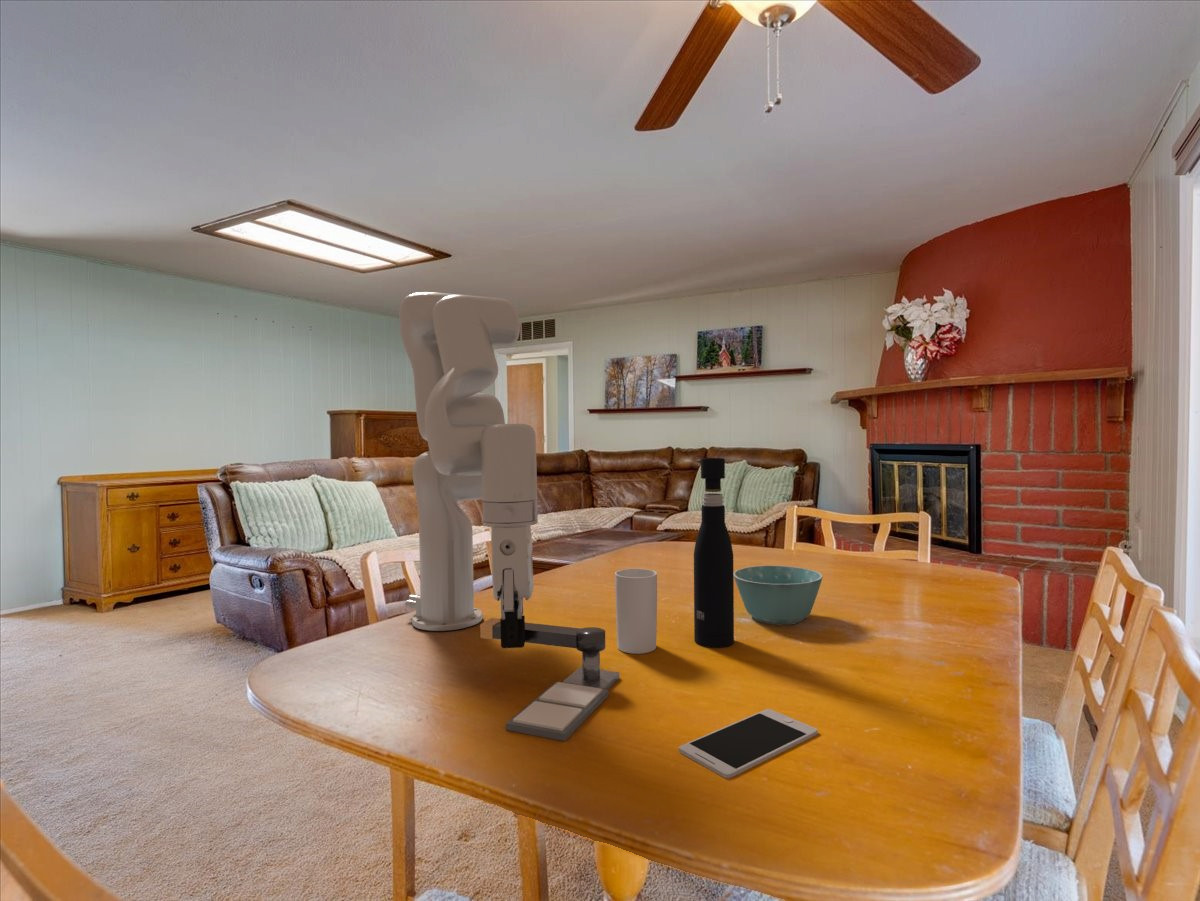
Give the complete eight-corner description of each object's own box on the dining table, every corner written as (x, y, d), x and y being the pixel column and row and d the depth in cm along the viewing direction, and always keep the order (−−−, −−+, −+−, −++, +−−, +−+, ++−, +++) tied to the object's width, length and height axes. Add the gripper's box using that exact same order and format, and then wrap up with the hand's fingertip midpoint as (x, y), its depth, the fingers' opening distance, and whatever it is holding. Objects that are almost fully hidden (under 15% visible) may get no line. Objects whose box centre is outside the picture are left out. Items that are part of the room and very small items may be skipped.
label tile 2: (532, 707, 80) (532, 698, 80) (556, 687, 86) (556, 679, 86) (588, 717, 77) (588, 708, 77) (608, 695, 83) (608, 687, 83)
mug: (665, 651, 100) (664, 575, 99) (625, 657, 97) (624, 579, 97) (638, 632, 109) (638, 563, 109) (602, 637, 107) (601, 566, 106)
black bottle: (736, 637, 106) (735, 457, 105) (731, 649, 100) (730, 459, 99) (698, 633, 108) (696, 457, 108) (690, 645, 102) (689, 459, 101)
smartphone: (819, 736, 72) (819, 728, 72) (727, 783, 63) (727, 774, 63) (768, 714, 78) (768, 707, 78) (677, 754, 69) (677, 746, 69)
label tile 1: (506, 730, 74) (505, 720, 74) (533, 707, 80) (533, 698, 80) (565, 741, 71) (564, 731, 71) (588, 716, 77) (588, 707, 77)
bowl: (726, 626, 113) (726, 579, 112) (741, 603, 127) (741, 562, 127) (820, 635, 107) (819, 586, 106) (824, 610, 121) (824, 567, 121)
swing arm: (609, 644, 89) (609, 628, 89) (599, 653, 85) (599, 637, 85) (493, 631, 95) (493, 616, 95) (479, 639, 92) (478, 624, 91)
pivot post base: (562, 687, 86) (561, 654, 86) (580, 672, 92) (580, 641, 91) (603, 694, 84) (602, 660, 84) (619, 677, 89) (619, 646, 89)
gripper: (534, 519, 80) (538, 663, 81) (539, 507, 95) (542, 629, 96) (474, 520, 80) (478, 666, 80) (489, 508, 95) (492, 631, 95)
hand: (513, 645), depth 88 cm, fingers closed
